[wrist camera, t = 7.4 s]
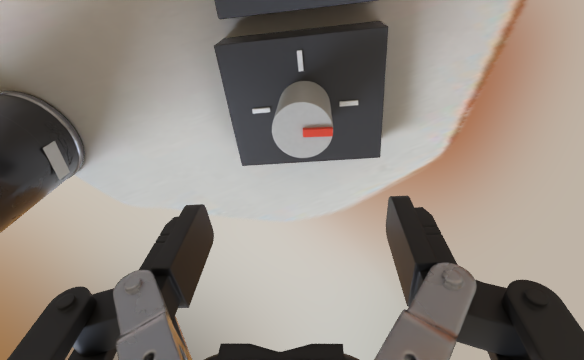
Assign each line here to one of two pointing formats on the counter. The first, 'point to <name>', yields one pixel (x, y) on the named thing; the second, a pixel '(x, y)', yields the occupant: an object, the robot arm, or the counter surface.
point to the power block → (271, 6)
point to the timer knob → (303, 120)
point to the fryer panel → (315, 68)
